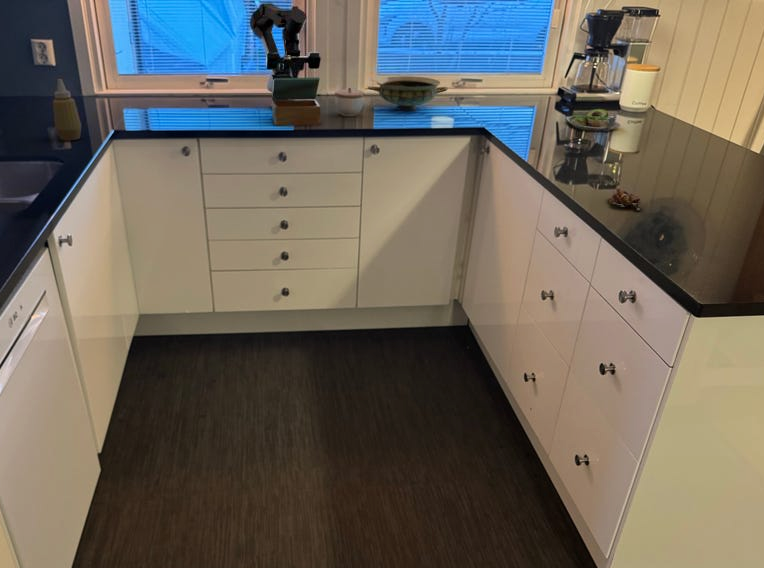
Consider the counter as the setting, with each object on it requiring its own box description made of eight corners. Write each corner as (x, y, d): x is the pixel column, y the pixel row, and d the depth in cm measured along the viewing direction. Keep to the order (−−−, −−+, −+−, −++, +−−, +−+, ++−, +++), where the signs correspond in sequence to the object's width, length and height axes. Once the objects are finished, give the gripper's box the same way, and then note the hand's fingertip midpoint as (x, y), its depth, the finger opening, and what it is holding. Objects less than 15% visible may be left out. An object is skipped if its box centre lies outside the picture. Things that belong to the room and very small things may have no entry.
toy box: (320, 124, 241) (320, 106, 237) (275, 126, 239) (275, 107, 235) (315, 117, 251) (315, 99, 247) (272, 118, 249) (271, 100, 245)
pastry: (635, 196, 176) (639, 182, 174) (640, 212, 166) (644, 197, 164) (606, 194, 177) (609, 180, 175) (609, 209, 168) (613, 194, 166)
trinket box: (364, 111, 259) (365, 85, 254) (362, 118, 250) (363, 90, 245) (335, 110, 260) (336, 84, 255) (333, 117, 251) (334, 90, 246)
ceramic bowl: (443, 103, 274) (446, 76, 269) (447, 116, 254) (450, 87, 248) (368, 101, 276) (369, 74, 271) (366, 114, 256) (367, 85, 251)
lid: (319, 79, 235) (319, 77, 235) (274, 80, 233) (273, 78, 233) (315, 99, 247) (315, 97, 247) (272, 100, 245) (271, 97, 245)
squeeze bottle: (59, 143, 216) (48, 82, 207) (55, 137, 223) (44, 78, 213) (85, 140, 220) (75, 80, 210) (80, 134, 226) (70, 76, 216)
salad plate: (631, 133, 233) (635, 119, 231) (579, 133, 232) (582, 119, 230) (609, 120, 249) (612, 107, 247) (560, 120, 249) (563, 107, 246)
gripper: (315, 57, 250) (319, 95, 247) (264, 58, 248) (267, 96, 244) (318, 36, 239) (323, 75, 236) (265, 37, 237) (269, 76, 233)
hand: (295, 81), depth 238 cm, fingers closed
